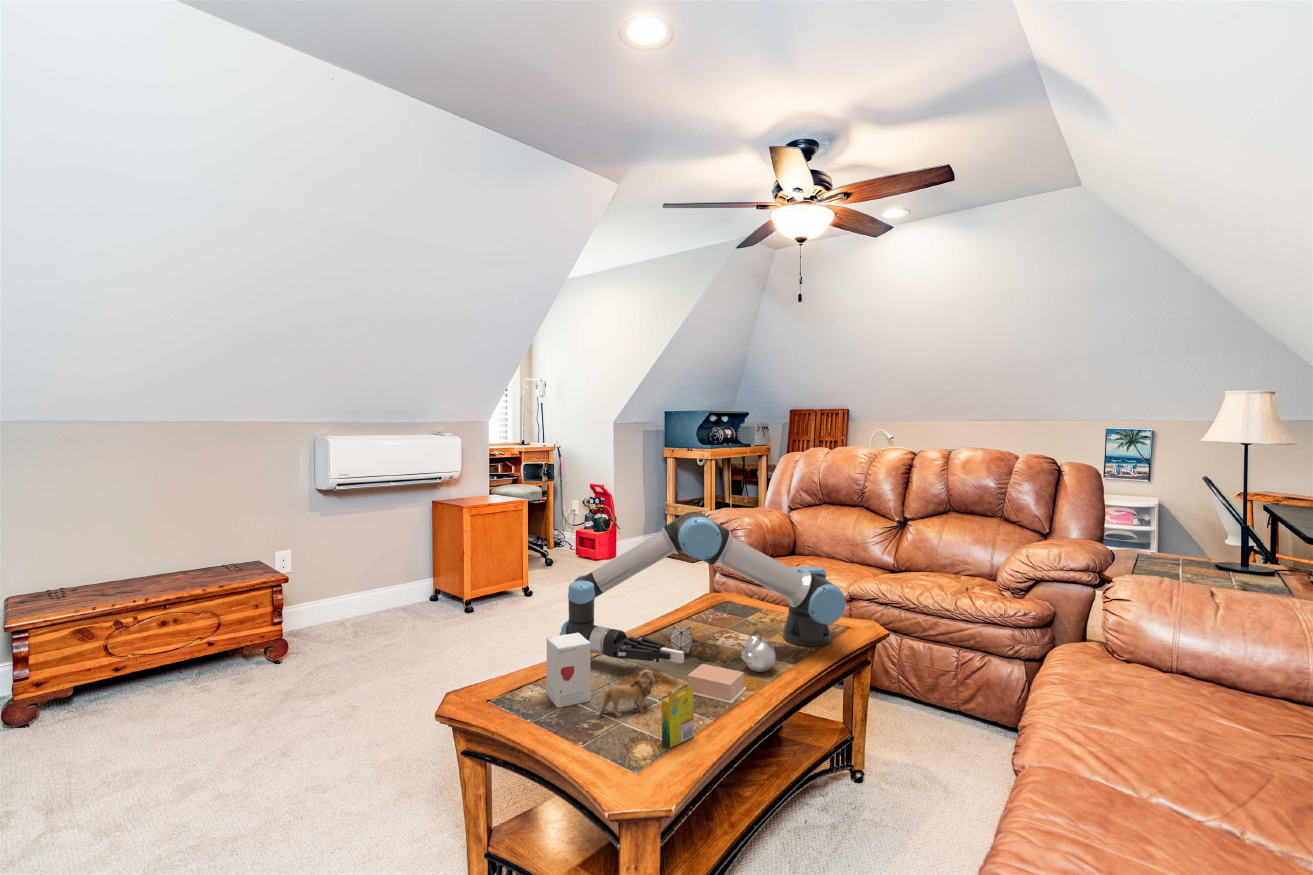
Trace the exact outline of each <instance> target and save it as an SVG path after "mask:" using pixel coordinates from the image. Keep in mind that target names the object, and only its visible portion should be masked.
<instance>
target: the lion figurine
mask: <svg viewBox="0 0 1313 875" xmlns="http://www.w3.org/2000/svg"><path fill="white" fill-rule="evenodd" d="M655 680H656V679H655V676H654V671H652V670H649V669H643V670H642V671H640V672H639V676H638V677H637V678H635V681H633V682H632V683H631V684H627V685H620V684H619V685H618V684H614V685H612V686H610V687H609V688H608V689H607V690H606V692H605V694H604V698H603V703H602V709H601V711H600V713H599V715H598V717H602V716H603V714H607V713H608V712H609V709H607V707H608V706H609V704H610V703H612V706H613V707H612V711H613V713H614V714H615V716H616V717H617V718H621V717H622V716H623V715H622V713H621V712H619V711H618V708H619V704H620V700H622V701H624V702H632V701H633V707H634V708H635V709H639V712H641V713H646V709H645V708H644V703H645V699H646V698H647V697H649V696H650V694H651V693H652V690H653V687H654V684H655Z"/></svg>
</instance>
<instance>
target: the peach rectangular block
mask: <svg viewBox="0 0 1313 875" xmlns="http://www.w3.org/2000/svg"><path fill="white" fill-rule="evenodd" d="M744 678H745V672H742V671H739V670H736V669H735V670H734V669H729V668H724V667H720V666H715V665H710V664H705V663H702V664H700V665H699V666H698V667H696V668H694V669H693V670H692V671H691V672H690V673H689V674H687V683H686V684H687V686H686V688H687V687H689V686H692V685H693V692H695V693H699V694H703V695H708V696H712V697H716V698H720V699H724V700H729V701H731V700H732V699H733V698H734V697H735V696H736V695H737V694H738V693H739V692H740V691H741V690H742V689H743V688H744V687H745V682H744V681H745V679H744Z"/></svg>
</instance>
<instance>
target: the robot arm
mask: <svg viewBox="0 0 1313 875" xmlns="http://www.w3.org/2000/svg"><path fill="white" fill-rule="evenodd" d="M682 552H683V553H685V555H687V556H688V557H690V558H692V559H695V560H697V561H699V560H700V561H702V562H704V563H707V564H708V565H710V566H715V565H718V564H720V565H721V566H723V567H726V568H727V569H730V570H732V571H733V572H735V573H737V574H740V575H741V576H743V577H745V578H747V579H749V580H751V581H753V582H755V583H757V584H758V585H761V586H762V587H765V588H767V589H768V590H770V591H772V592H775V593H776V594H778V595H780V596H782V597H783V598H785V599H787V600H788V613H787V617H786V620H785V623H784V626H783V630H782V638H783V640H785V641H786V642H788V643H791V644H794V645H796V646H803V647H821V646H822V647H823V646H826V645H828V644H829V643H831V642H832V632H831V629H830V626H829V625H831V624H833V623H836V622H837V621H839V619H841V617H843V615H844V613H845V610H846V606H847V599H846V596H845V595H844V593H843V591H842V590H841V588H839V586H836V585H835V584H833V583H832V582H831V581H829V580H827V572H826V569H825V568H824V567H820V566H818V567H817V566H795V567H790V566H788V565H786V564H784V563H783V562H780V561H778V560H777V559H774V558H773V557H771V556H769V555H766V554H765V553H763V552H762V551H759V550H758V549H755V548H753V547H752V546H750V545H748V544H746V543H744V542H742V541H740V540H738V539H736V538H735V537H733V536H732V533H731V530H730V529H728V528H726V527H724V526H723V525H720V524H718V523H717V522H715V521H713V520H711V519H709V517H708V516H706V515H705V514H703V513H702V512H700V511H699V512H698V511H690V512H686V513H684V514H682V515H680V516H679V517H677V518H676V519H674V520H673V521H671V522H670V523H668V524H666V525H664V526H662V528H661V531H660V532H658V533H656V534H655V535H654V536H651V537H650V538H648V539H646V540H644V541H643V542H641V543H640V544H638V545H636V546H634V547H632V548H630V549H628V551H626V552H624V553H622V554H620V555H619V556H617V557H615V558H613V559H612V560H610V561H609V562H606V563H605V564H603V565H601V566H600V567H598V568H596V569H594V570H593V571H591V572H589V573H588V574H585V575H579V576H578V577H577V578H575V580H574V581H573V582H570V584H569V585H568V594H567V597H568V599H567V600H568V620H567V621H565V622H564V623H563V624H562V626H561V627H560V629H561V630H560V632H559V636H560V635H567V634H573V633H580V634H581V635H582V636H583V637H584V638H585V639H587V640H588V641H589V642H590V643H591V653H592V654H598V656H607V657H610V658H616V659H627V660H628V659H629V660H630V659H631V660H637V661H638V660H639V661H648V662H654V660H655V662H656V663H659V662H660V660H664V661H668V662H673V663H677V664H683V663H684V662H685V653H684V652H683V651H678V650H674V649H672V648H668V647H666V643H663V642H659V641H656V640H654V639H651V638H648V637H646V636H644V635H639V638H635V637H632V636H629V637H628V636H627V634H626V632H624V630H621V629H615V628H611V627H606V626H600V625H596V624H595V599H596V598H597V597H599V596H601V595H603V594H604V593H606V592H608V591H609V590H611V589H613V588H614V587H616V586H618V585H619V584H622V583H624V582H625V581H627V580H629V579H631V578H632V577H634V576H636V575H637V574H639V573H640V572H642V571H644V570H646V569H648V568H650V567H652V565H655V564H656V563H658V562H660V561H663V559H665V558H666V557H669V556H670V555H673V554H674V555H675V554H676V555H679V554H681V553H682Z"/></svg>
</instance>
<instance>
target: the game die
mask: <svg viewBox="0 0 1313 875" xmlns="http://www.w3.org/2000/svg"><path fill="white" fill-rule="evenodd" d="M672 627H673V631H672V633H671V635H670V638H669V639H667V642H669V643H670V646H671V649H674V650H678V651H683V652H684V654H688V656H691V653H690V651H691V650H692V646H693V645H694V643H696V642H697V641H696V640H694V638H693V635H692V633H691V628H692V627H691V626H689V627H688V628H682V627H681V628H679V627H678V628H677V627H676V626H674V625H673V626H672Z"/></svg>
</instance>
